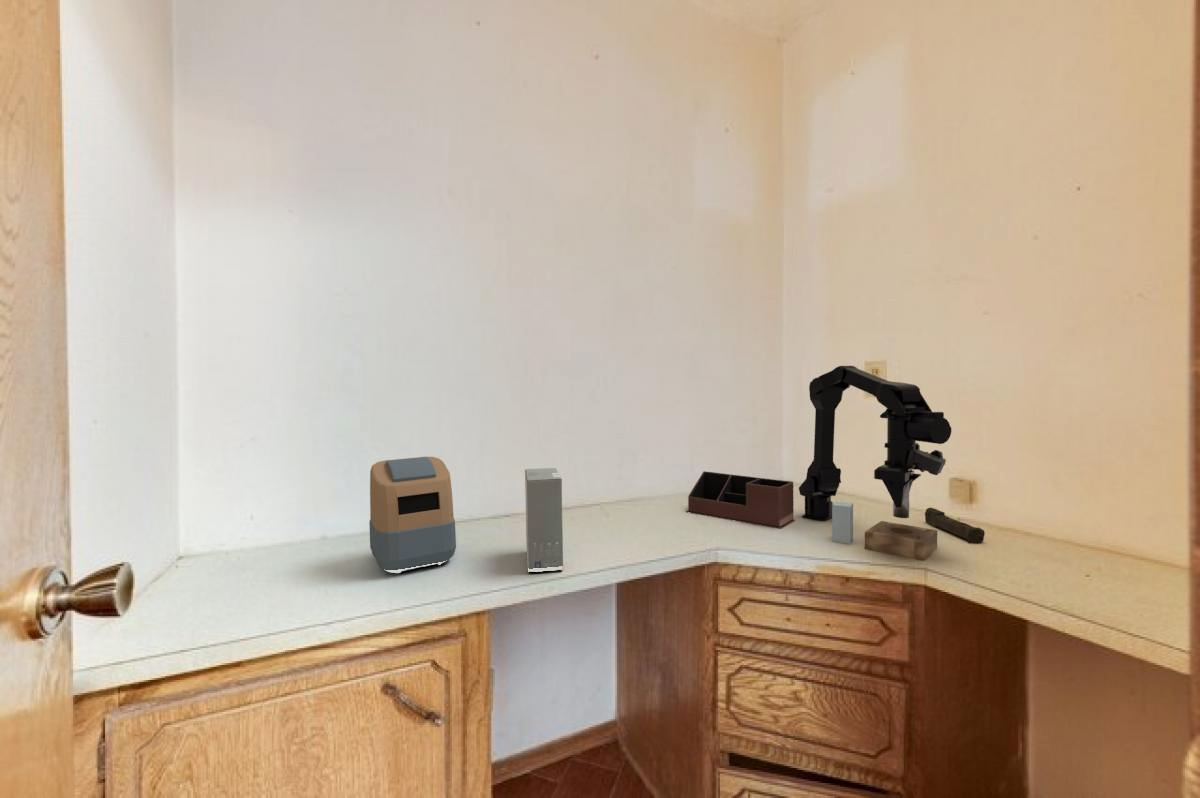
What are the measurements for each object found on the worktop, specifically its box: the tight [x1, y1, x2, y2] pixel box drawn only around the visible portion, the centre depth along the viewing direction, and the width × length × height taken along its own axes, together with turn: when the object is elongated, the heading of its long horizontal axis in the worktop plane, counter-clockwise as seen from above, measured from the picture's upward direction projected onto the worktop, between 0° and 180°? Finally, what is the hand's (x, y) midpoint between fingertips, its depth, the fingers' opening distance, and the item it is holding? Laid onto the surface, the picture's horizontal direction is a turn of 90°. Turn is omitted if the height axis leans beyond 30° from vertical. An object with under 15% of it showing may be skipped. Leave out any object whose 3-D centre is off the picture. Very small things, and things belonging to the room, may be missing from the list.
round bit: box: [892, 483, 910, 519], centre depth 122 cm, size 3×3×9 cm
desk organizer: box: [685, 470, 796, 530], centre depth 153 cm, size 10×29×11 cm, turn 49°
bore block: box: [864, 520, 938, 561], centre depth 123 cm, size 12×12×4 cm
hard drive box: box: [524, 467, 564, 569], centre depth 118 cm, size 16×8×20 cm, turn 9°
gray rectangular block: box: [831, 501, 854, 545], centre depth 129 cm, size 4×4×9 cm
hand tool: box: [924, 507, 985, 544], centre depth 134 cm, size 19×4×5 cm, turn 179°
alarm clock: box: [369, 456, 457, 570], centre depth 119 cm, size 17×17×23 cm
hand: (900, 505), depth 123 cm, fingers closed on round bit, 3 cm apart
